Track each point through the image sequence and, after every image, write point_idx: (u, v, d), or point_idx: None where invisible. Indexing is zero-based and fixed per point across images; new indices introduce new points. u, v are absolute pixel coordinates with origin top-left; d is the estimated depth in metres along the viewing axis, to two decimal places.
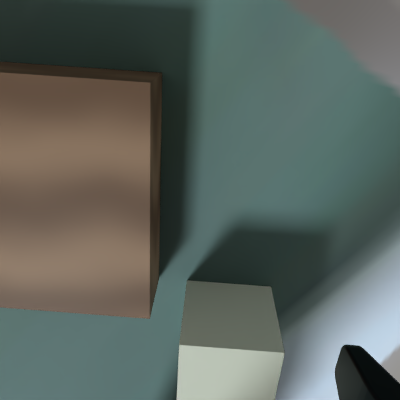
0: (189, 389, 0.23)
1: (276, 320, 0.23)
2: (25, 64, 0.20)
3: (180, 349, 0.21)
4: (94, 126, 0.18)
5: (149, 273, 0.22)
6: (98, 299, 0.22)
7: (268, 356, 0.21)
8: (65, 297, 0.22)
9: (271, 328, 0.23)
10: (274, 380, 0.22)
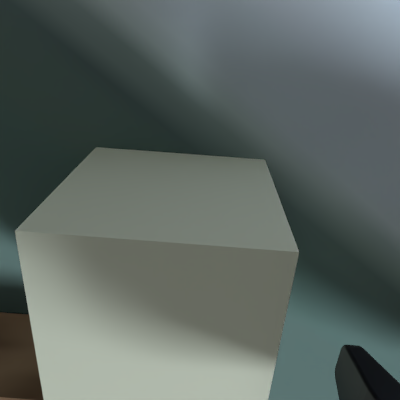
0: None
1: None
2: None
3: None
4: None
5: None
6: None
7: (36, 265, 0.08)
8: None
9: None
10: (123, 248, 0.08)
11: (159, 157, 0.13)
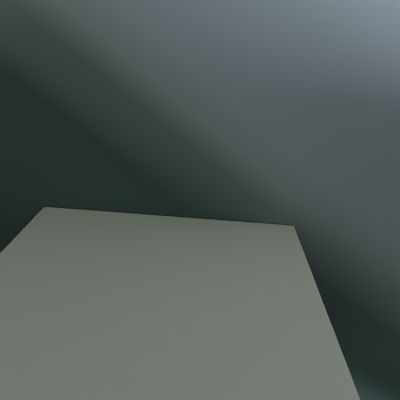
0: None
1: None
2: None
3: None
4: None
5: None
6: None
7: None
8: None
9: None
10: None
11: (135, 228, 0.08)
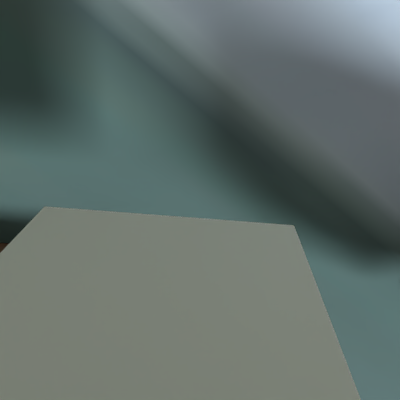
0: None
1: None
2: None
3: None
4: None
5: None
6: None
7: None
8: None
9: None
10: None
11: (135, 227, 0.08)
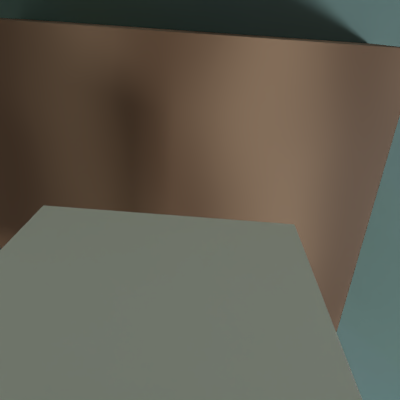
0: None
1: None
2: None
3: None
4: (39, 111, 0.12)
5: (307, 42, 0.11)
6: (353, 145, 0.12)
7: None
8: (341, 200, 0.13)
9: None
10: None
11: (135, 226, 0.08)
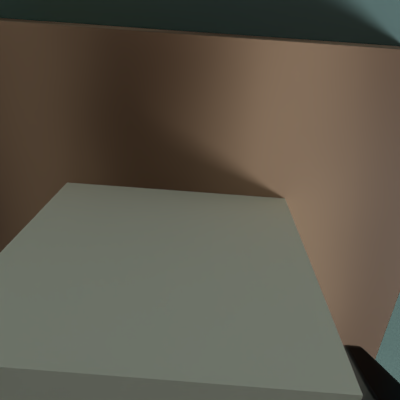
0: None
1: None
2: None
3: None
4: None
5: (338, 46, 0.09)
6: (394, 177, 0.10)
7: None
8: (375, 242, 0.11)
9: None
10: (76, 385, 0.05)
11: (147, 199, 0.10)
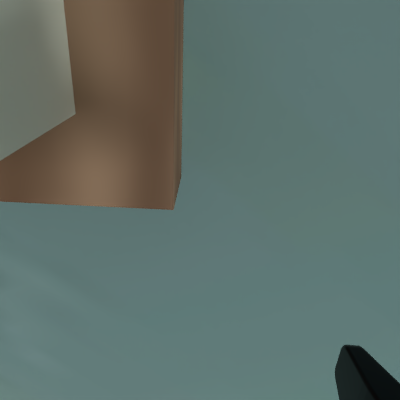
0: None
1: None
2: None
3: None
4: None
5: None
6: None
7: None
8: None
9: None
10: None
11: None
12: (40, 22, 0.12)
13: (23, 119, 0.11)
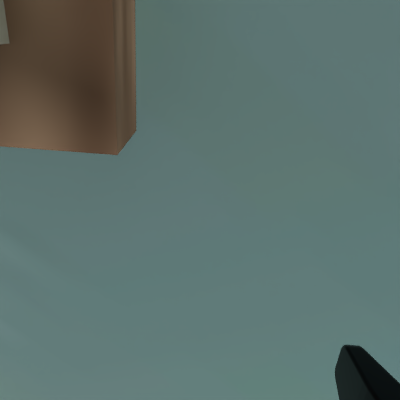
0: None
1: None
2: None
3: None
4: None
5: None
6: None
7: None
8: None
9: None
10: None
11: None
12: None
13: None
